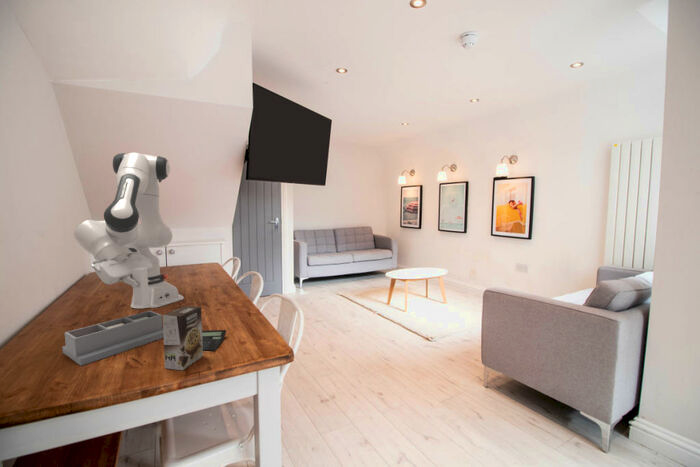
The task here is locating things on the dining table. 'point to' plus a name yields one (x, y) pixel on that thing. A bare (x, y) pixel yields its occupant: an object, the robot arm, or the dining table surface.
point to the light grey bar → (140, 286)
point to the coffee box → (182, 337)
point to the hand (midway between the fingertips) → (142, 284)
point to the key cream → (115, 326)
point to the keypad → (112, 337)
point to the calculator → (212, 339)
